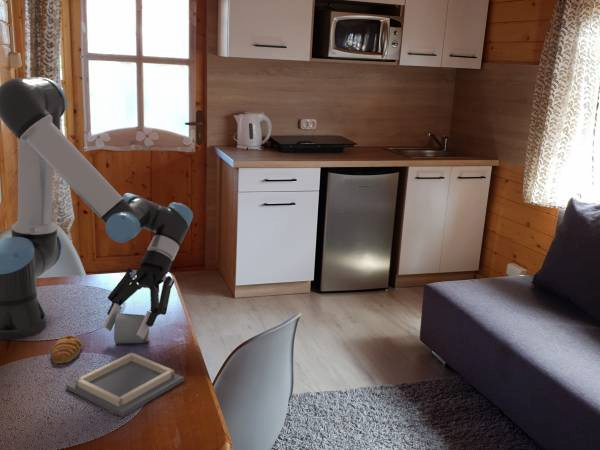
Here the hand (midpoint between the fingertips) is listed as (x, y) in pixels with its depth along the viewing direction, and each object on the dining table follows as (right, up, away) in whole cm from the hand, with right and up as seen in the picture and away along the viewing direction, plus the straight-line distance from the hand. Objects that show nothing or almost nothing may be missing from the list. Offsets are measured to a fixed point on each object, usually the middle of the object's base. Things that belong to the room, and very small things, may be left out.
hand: (123, 332), depth 151 cm
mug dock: (+5, -9, -16) cm, 19 cm away
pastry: (-13, -5, -4) cm, 14 cm away
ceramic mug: (+1, -3, +5) cm, 6 cm away
